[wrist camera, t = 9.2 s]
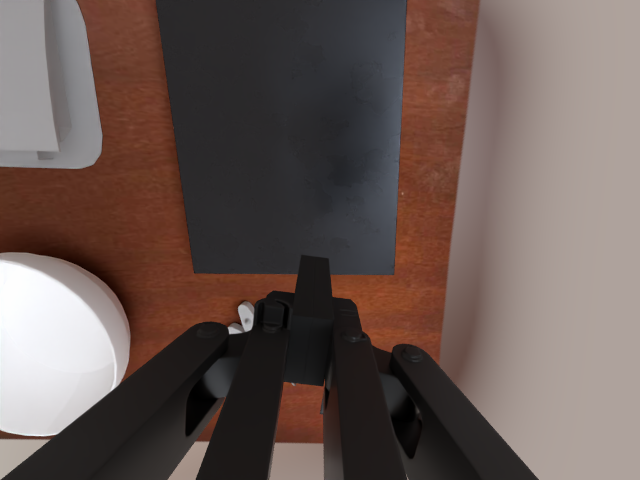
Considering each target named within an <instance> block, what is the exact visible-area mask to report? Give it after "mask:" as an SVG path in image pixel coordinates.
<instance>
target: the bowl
mask: <svg viewBox="0 0 640 480" xmlns="http://www.w3.org/2000/svg"><path fill="white" fill-rule="evenodd" d="M130 337H131V335H130V328H129V322H128V320H127V317H126V314H125V312H124V309H123V307H122V304H121V303H120V301H119V300H118V298H117V296H116V295H115V293H114V292H113V291H112V290H111V289H110V288H109V287H108V286H107V284H105V283H104V282H103V281H102V280H100V279H99V278H98V277H97V276H95V275H94V274H92V273H90V272H88V271H87V270H85V269H83V268H81V267H80V266H78V265H76V264H73V263H70V262H68V261H65V260H63V259H59V258H54V257H49V256H41V255H36V254H31V253H18V252H7V253H0V430H2V431H5V432H9V433H14V434H20V435H26V436H49V435H56V434H58V433H60V432H61V431H62V430H63V429H65V428H66V427H67V426H68V425H70V424H71V423H72V422H73V421H75V420H76V419H77V418H78V417H80V416H81V415H82V414H83V413H85V412H86V411H87V410H88V409H90V408H91V407H92V406H93V405H95V404H96V403H97V402H98V401H99V400H101V399H102V398H103V397H104V396H106V395H107V394H108V393H109V392H111V391H112V390H113V389H114V388H116V387H117V386H118V385H119V384H120V382H121V380H122V378H123V376H124V374H125V371H126V368H127V365H128V362H129V349H130Z"/></svg>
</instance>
